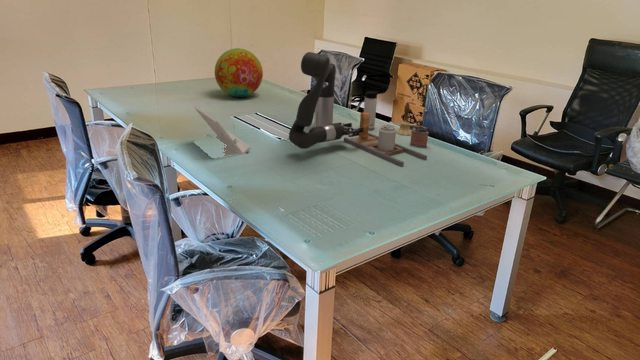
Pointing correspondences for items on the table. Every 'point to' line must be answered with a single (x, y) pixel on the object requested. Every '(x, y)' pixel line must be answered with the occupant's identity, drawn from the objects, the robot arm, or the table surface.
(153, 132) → the table surface
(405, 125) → the hand bell
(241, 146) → the tablet stand
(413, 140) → the lighter
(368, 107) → the travel mug
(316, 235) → the table surface
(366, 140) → the brown post on base
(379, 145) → the can
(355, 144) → the rail
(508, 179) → the table surface
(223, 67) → the globe
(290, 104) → the table surface
